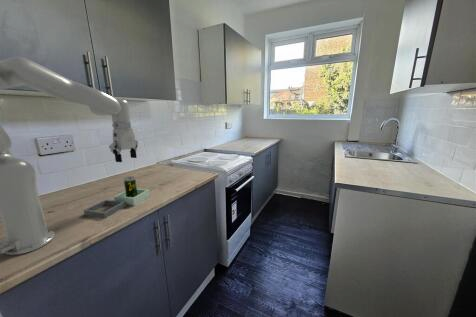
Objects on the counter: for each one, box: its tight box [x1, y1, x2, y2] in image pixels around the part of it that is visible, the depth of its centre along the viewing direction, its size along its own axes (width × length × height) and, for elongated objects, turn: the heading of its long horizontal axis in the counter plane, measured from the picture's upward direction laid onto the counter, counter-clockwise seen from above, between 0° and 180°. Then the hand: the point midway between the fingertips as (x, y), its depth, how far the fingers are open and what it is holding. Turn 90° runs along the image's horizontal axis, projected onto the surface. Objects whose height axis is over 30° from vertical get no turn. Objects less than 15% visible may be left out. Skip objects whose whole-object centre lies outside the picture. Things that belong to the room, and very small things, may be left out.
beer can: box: [123, 175, 138, 198], centre depth 103 cm, size 5×5×12 cm
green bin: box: [113, 188, 151, 207], centre depth 105 cm, size 12×12×4 cm
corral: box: [83, 199, 126, 219], centre depth 94 cm, size 12×12×2 cm
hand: (126, 159), depth 100 cm, fingers open, 9 cm apart
